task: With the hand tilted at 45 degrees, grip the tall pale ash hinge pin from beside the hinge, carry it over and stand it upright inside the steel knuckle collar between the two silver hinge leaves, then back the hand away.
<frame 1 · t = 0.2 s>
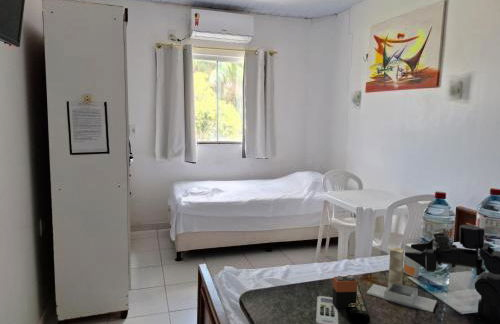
hand: (408, 249, 124), 16 cm above the table, tool horizontal, fingers open, 9 cm apart
skincare box: (412, 274, 144), on the table
steel hinge: (400, 298, 123), on the table
battery: (343, 306, 117), on the table
ash hinge pin: (395, 286, 132), on the table
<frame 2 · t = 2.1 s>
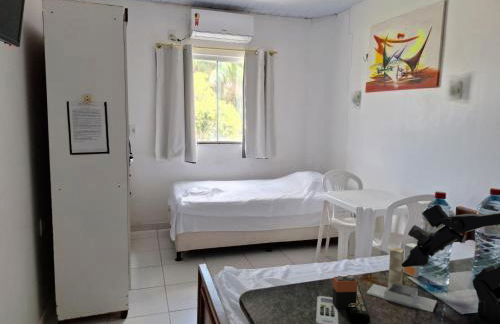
hand: (405, 262, 130), 10 cm above the table, tool tilted 45°, fingers open, 9 cm apart
nothing on the table moved.
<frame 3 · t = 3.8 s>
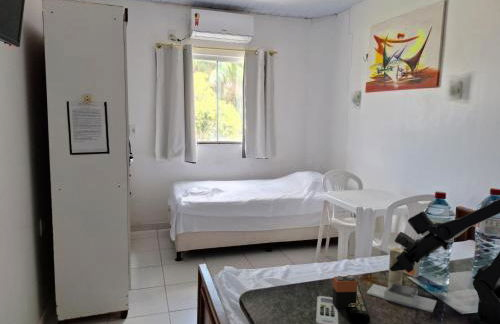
hand: (392, 268, 132), 7 cm above the table, tool tilted 45°, fingers closed on ash hinge pin, 4 cm apart
ash hinge pin: (395, 286, 132), on the table, touching gripper
everything else where it was.
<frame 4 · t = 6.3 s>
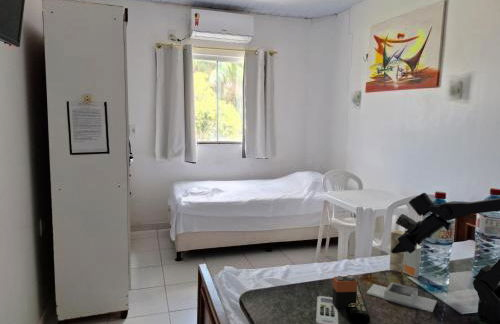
hand: (393, 250, 131), 13 cm above the table, tool tilted 45°, fingers closed on ash hinge pin, 4 cm apart
ash hinge pin: (396, 268, 131), point 7 cm above the table, touching gripper
everything else where it was.
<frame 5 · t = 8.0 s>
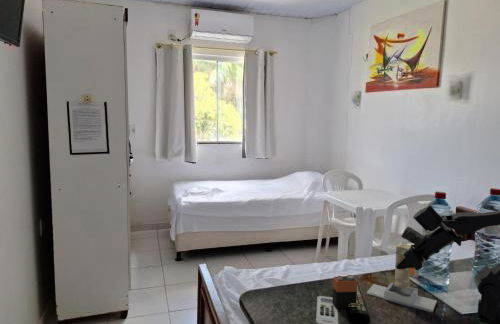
hand: (398, 266, 122), 11 cm above the table, tool tilted 45°, fingers closed on ash hinge pin, 4 cm apart
ash hinge pin: (401, 285, 122), point 5 cm above the table, touching gripper
everything else where it was.
when the fingers open (8 cm above the table, at t = 9.1 s): ash hinge pin stays where it is, resting in steel hinge.
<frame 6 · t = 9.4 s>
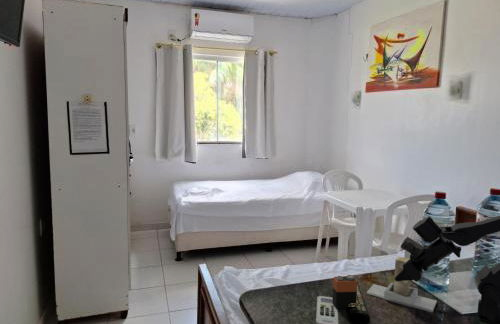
hand: (397, 276, 123), 8 cm above the table, tool tilted 45°, fingers open, 7 cm apart
ash hinge pin: (400, 298, 123), resting in steel hinge
everything else where it was.
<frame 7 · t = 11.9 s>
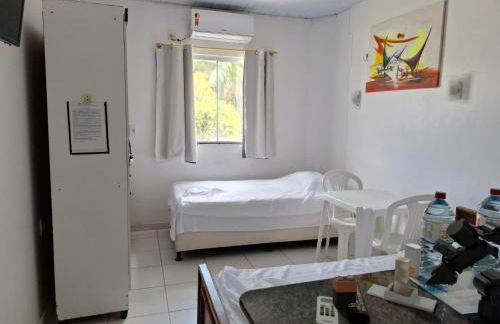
hand: (428, 279, 117), 9 cm above the table, tool tilted 45°, fingers open, 9 cm apart
nothing on the table moved.
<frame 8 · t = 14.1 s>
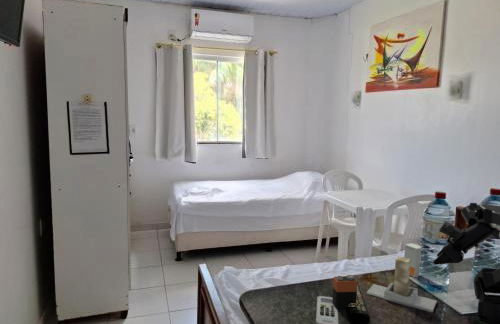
hand: (435, 259, 125), 13 cm above the table, tool tilted 45°, fingers open, 9 cm apart
nothing on the table moved.
at the end: ash hinge pin 0.0 cm off-centre on the steel hinge, point 0.0 cm above the steel hinge's base; ash hinge pin tilted 0°; the gripper is holding nothing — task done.
